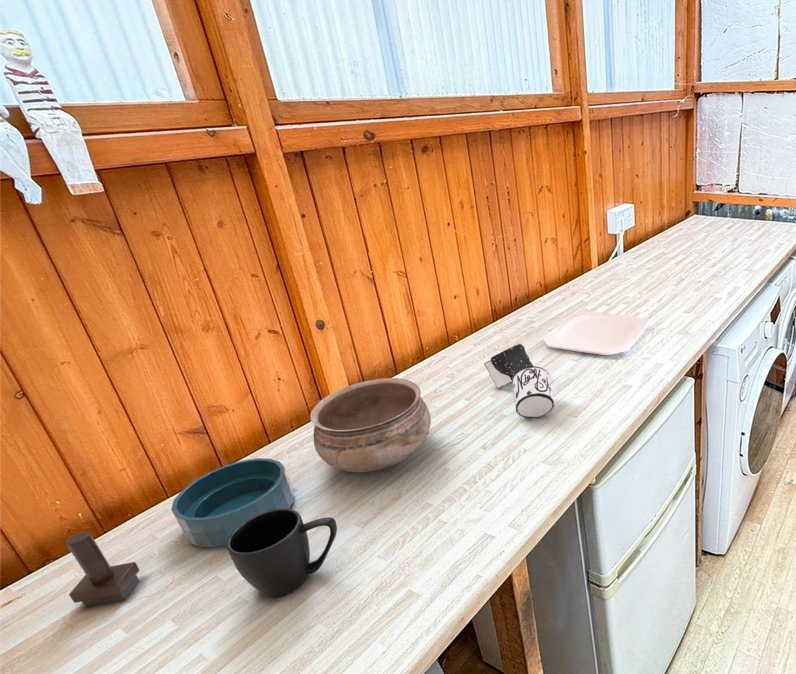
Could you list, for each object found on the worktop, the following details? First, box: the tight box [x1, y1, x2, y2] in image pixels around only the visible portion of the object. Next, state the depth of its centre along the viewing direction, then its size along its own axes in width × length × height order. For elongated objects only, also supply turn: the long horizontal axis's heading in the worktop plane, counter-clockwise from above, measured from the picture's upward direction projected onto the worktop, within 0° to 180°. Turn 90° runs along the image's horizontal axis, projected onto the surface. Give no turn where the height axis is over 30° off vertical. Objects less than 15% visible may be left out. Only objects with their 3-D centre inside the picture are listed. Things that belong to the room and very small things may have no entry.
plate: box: [542, 310, 649, 356], centre depth 145 cm, size 25×25×2 cm
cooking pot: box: [310, 377, 432, 473], centre depth 94 cm, size 25×19×12 cm
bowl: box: [171, 457, 295, 548], centre depth 82 cm, size 14×14×6 cm
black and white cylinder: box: [483, 343, 555, 419], centre depth 114 cm, size 25×10×10 cm, turn 34°
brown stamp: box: [64, 530, 140, 609], centre depth 68 cm, size 5×4×10 cm
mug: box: [225, 508, 338, 599], centre depth 71 cm, size 8×12×10 cm
